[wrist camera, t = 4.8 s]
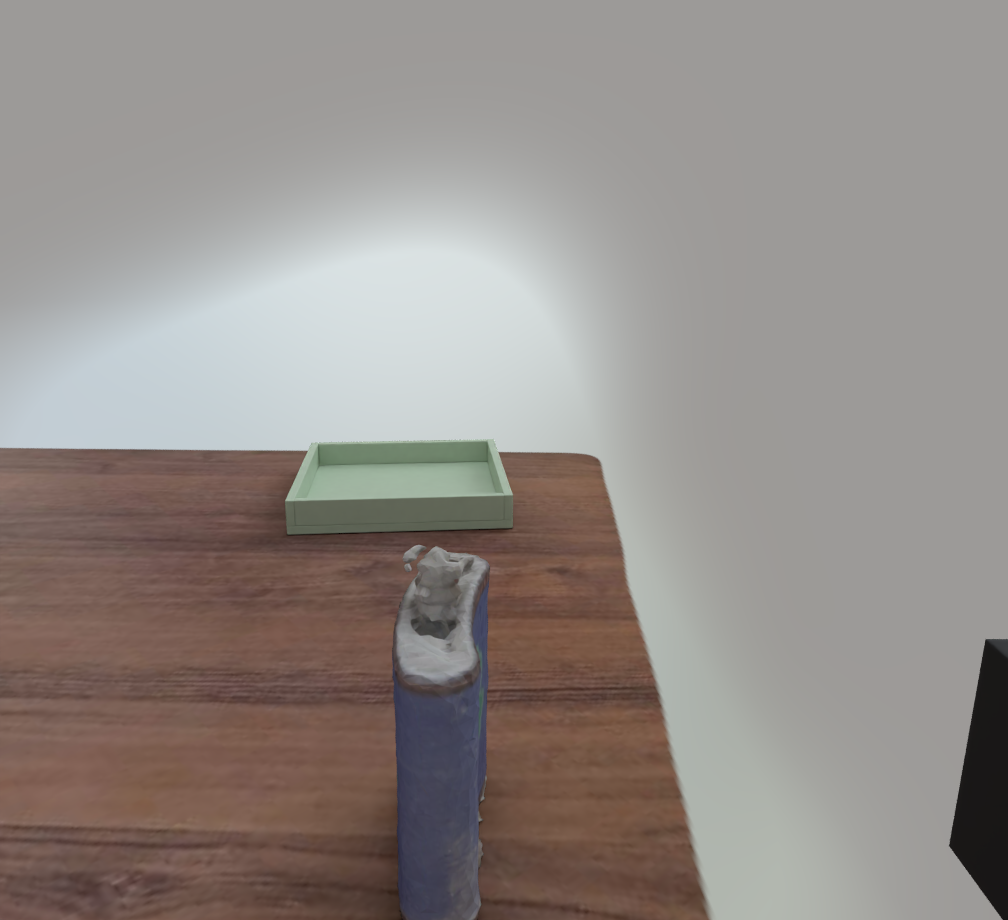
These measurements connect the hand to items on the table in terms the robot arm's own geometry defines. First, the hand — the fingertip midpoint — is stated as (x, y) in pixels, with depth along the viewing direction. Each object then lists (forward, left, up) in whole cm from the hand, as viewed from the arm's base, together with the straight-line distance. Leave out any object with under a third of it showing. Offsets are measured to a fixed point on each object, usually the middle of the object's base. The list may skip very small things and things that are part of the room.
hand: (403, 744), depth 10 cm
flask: (-1, -16, -15) cm, 22 cm away
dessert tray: (+1, -54, -15) cm, 56 cm away
